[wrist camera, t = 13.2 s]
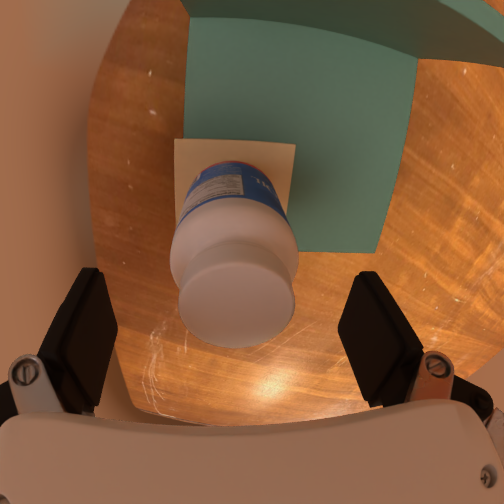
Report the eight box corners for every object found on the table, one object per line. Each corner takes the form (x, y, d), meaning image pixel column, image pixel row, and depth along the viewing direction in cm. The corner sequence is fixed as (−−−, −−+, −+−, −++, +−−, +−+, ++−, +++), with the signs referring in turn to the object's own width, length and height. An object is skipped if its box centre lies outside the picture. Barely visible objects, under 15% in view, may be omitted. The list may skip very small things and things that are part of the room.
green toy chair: (184, 221, 23) (153, 374, 12) (190, 13, 15) (133, -79, 3) (356, 228, 25) (438, 354, 13) (390, 45, 16) (543, 53, 5)
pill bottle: (286, 221, 19) (328, 338, 11) (208, 248, 20) (202, 374, 12) (257, 143, 16) (293, 220, 8) (172, 177, 17) (127, 280, 9)
